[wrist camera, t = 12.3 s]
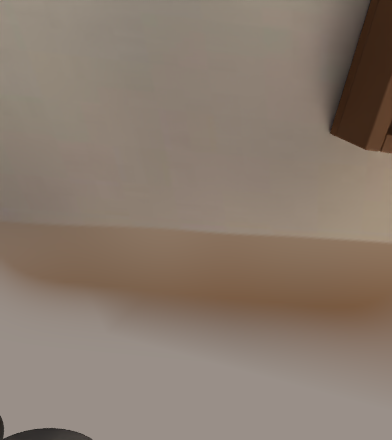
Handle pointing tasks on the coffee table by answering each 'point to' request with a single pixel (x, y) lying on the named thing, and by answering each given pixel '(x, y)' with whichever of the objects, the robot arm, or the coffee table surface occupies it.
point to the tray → (369, 85)
